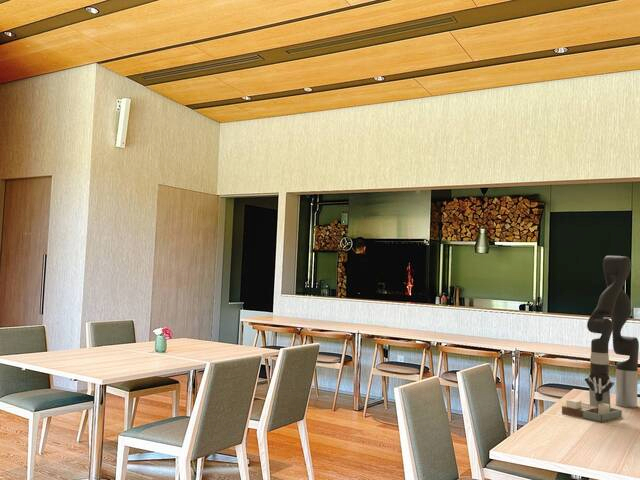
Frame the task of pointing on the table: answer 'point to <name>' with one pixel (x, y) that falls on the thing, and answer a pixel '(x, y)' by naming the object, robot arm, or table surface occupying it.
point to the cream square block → (573, 403)
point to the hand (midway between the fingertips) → (599, 401)
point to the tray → (603, 415)
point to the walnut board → (580, 410)
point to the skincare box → (605, 397)
